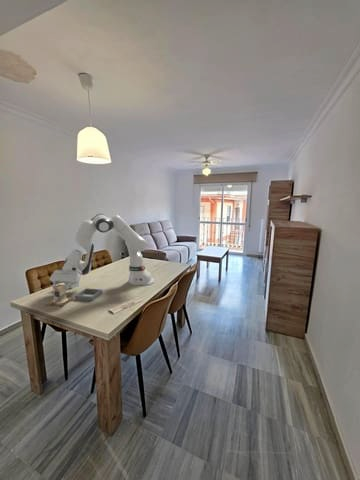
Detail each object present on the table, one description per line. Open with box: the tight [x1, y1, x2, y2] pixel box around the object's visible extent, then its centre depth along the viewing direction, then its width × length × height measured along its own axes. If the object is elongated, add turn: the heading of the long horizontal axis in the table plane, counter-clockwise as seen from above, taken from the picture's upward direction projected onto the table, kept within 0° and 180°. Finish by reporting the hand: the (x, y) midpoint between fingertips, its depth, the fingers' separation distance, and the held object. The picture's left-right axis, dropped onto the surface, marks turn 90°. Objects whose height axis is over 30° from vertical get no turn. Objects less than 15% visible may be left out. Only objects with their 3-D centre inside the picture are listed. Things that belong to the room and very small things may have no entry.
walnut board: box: [44, 296, 75, 307], centre depth 136 cm, size 12×12×1 cm
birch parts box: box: [52, 284, 67, 302], centre depth 135 cm, size 5×5×10 cm
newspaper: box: [108, 297, 144, 315], centre depth 133 cm, size 24×7×2 cm, turn 143°
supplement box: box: [64, 282, 80, 289], centre depth 161 cm, size 7×7×13 cm
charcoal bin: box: [74, 287, 103, 302], centre depth 144 cm, size 13×13×3 cm
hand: (60, 288), depth 135 cm, fingers open, 8 cm apart
